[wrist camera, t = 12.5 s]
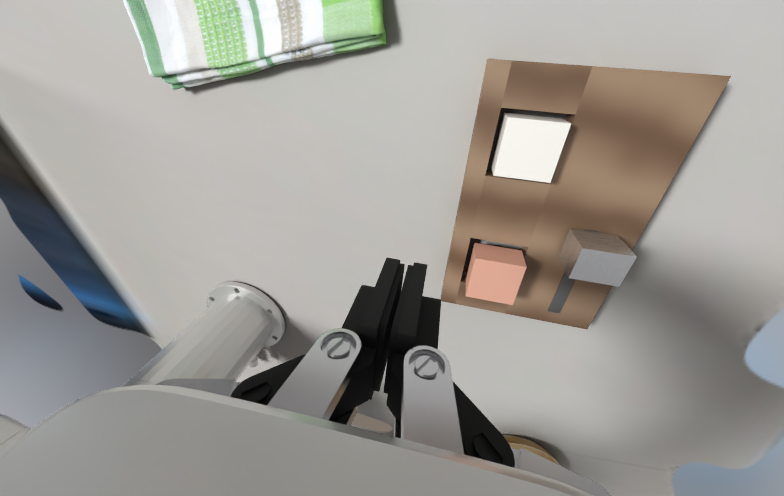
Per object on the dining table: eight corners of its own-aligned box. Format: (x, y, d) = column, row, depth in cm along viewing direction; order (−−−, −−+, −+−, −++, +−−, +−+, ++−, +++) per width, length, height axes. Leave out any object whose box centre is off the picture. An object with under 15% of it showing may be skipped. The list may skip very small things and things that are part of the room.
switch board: (581, 316, 34) (587, 330, 33) (441, 290, 37) (440, 301, 35) (710, 75, 22) (732, 76, 20) (487, 59, 24) (488, 58, 23)
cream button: (542, 172, 27) (550, 182, 25) (491, 166, 28) (493, 175, 25) (560, 118, 25) (571, 123, 22) (503, 112, 26) (507, 117, 23)
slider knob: (603, 263, 28) (619, 286, 25) (558, 256, 29) (568, 278, 26) (617, 235, 27) (637, 256, 24) (569, 228, 27) (582, 248, 24)
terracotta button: (509, 286, 32) (512, 305, 30) (465, 278, 33) (465, 296, 30) (521, 250, 30) (526, 267, 27) (474, 242, 30) (475, 258, 28)
